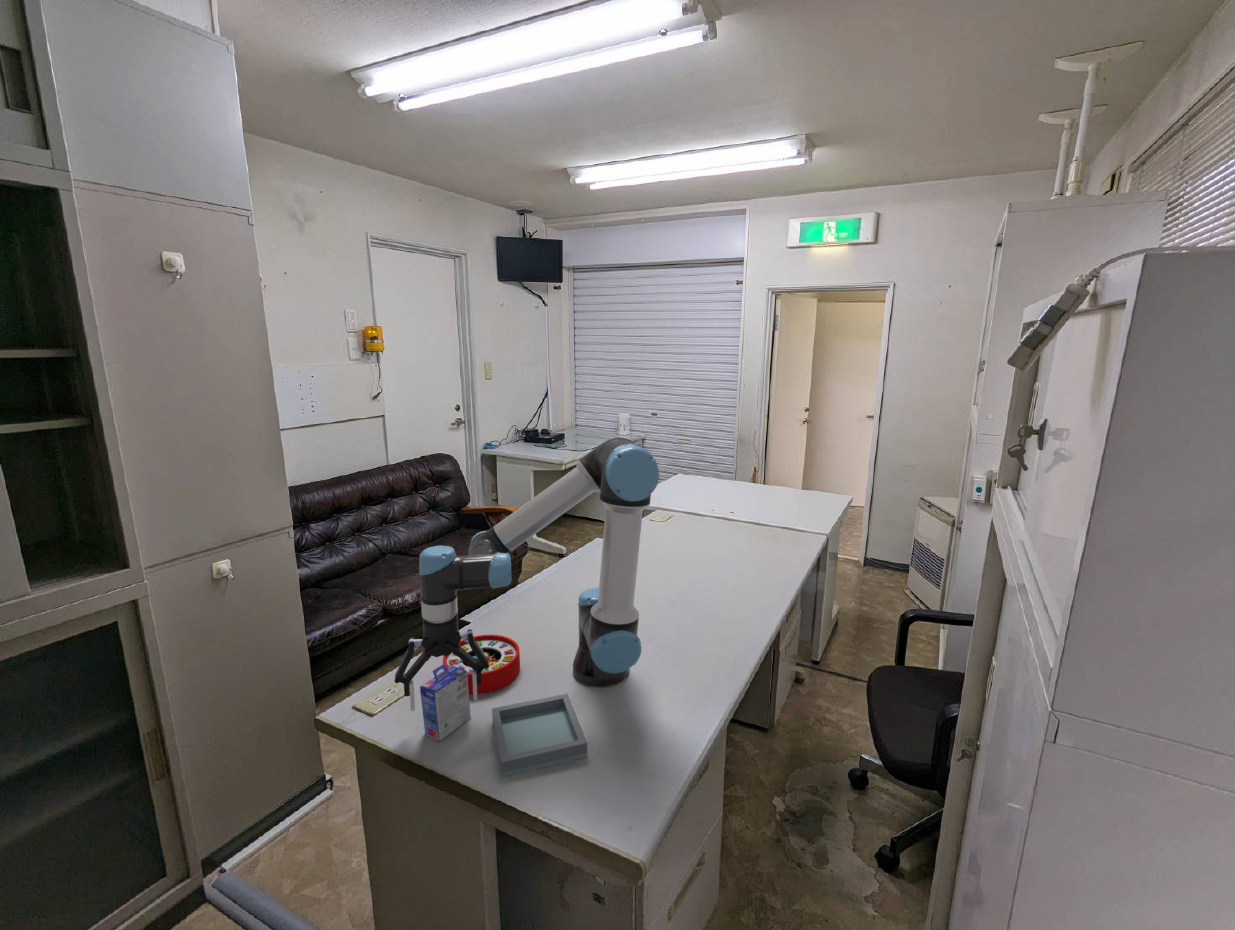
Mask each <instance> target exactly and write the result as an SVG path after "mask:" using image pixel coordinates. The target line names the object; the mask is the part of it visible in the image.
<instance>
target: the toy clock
mask: <svg viewBox="0 0 1235 930" xmlns="http://www.w3.org/2000/svg"><path fill="white" fill-rule="evenodd" d="M473 638H474V639H475V641H476V642H477V644H478V645H479V647H480V648H481V650H482V651H483V653H484V654H485V656H486V658H487V659H488V662H489V668H488V669H483V670H482V672H481V679H482V682H481V684H477V695H484V694H490V693H493V692H497V691H500V690H502V689H503V688H506V687H507V686H509V685H510V684H512V683H513V682H515V680H517V678H518V676H519V675H520V672H521V656H520V652H521V651H520V646H519V645H518V643H517V642H516V641H515V640H514V639H512V638H511V637H508V636H506V635H505V636H504V635H498V634H480V635H473ZM459 645H460V646H461V647H462V648H463V649H464V650H465V651H466V652H467V653H469V654H470V655H471V656H472V657H473V658H474V659H476V660H477V661H478V662H479V663H480V661H479V659H478V658H477V656H476V655H475V653H474V652H473V650H472V649H471V647H470V645H469V642H468V643H466V642H465V641H464V640H463V639H461V641H460V642H459ZM443 664H445V665H446V667H447V668H449V667H450V666H455V667H458V668H460V669H463V670H466V671H467V677H468V691H469V696H470V695H472V696H473V678H472V668H471V667H470V666H469V665H467V664H466V663H465V662H464V661H463V660H461V659H460V658H459V657H458V656H455V655H454V654H453V653H451V654H449V655H448V656H443V655H442V665H443ZM444 670H445V669H442V672H443V671H444Z"/></svg>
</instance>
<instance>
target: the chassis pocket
mask: <svg viewBox="0 0 1235 930" xmlns="http://www.w3.org/2000/svg"><path fill="white" fill-rule="evenodd" d="M491 709H492V710H491V716H492V726H493V733H494V737H495V744H496V751H497V756H498V763H499V770H500V775H501V778H505V777H508V776H512V775H517V774H522V773H526V772H530V771H534V770H535V771H536V770H538V769H544V768H548V767H551V766H555V765H560V764H564V763H568V762H569V763H570V762H572V761H577V760H581V759H587V758H588V741H587V739H586V736H585V733H584V732H583V729H582V726H581V724H580V721H579V719H578V717H577V713H576V711H575V709H574V706H573V704H572V701H571V699H570V696H569V693H563V694H558V695H554V696H548V697H544V698H537V699H533V700H529V701H523V702H517V703H514V704H507V705H502V706H497V707H492V708H491Z"/></svg>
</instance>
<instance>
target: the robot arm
mask: <svg viewBox="0 0 1235 930" xmlns="http://www.w3.org/2000/svg"><path fill="white" fill-rule="evenodd" d="M659 478H660V470H659V466H658V463H657V460H656V459H655V457H654V456H653V454H651V452H650V451H649V450H648V449H647V448H646V447H644V446H642V445H639V444H637V443H635V441H633V440H631V439H628V438H625V437H614V438H610V439H607V440H605V441H604V442H602V443H600V444H599V445H597V446H596V447H595V448H593V449H592V450H591V451H589V452H588V453H587V454H586V455H584V456H583V457H581V458H579V460H577V462H576V466H575V467H574V468H573V469H572V470H570V471H569V472H568V473H565V475H563V476H562V477H561V478H559V479H558V480H557V481H555V482H554V483H552V484H551V485H550V486H548V487H547V488H545V489H543V490H542V491H541V492H540V493H538V494H537V495H535V496H534V497H532V499H529V501H527V502H526V503H525V504H523V505H521V506H520V507H518V509H516V510H515V511H513V512H512V513H511V514H509V515H508V516H506V517H505V518H504V519H502V520H501V521H500V522H498V523H496V524H495V525H493V527H491V528H490V529H487V530H484V531H479V532H477V533H476V534H475V535H474V536H472V538H471V540H470V542H469V546H468V555H457V554H456V551H455V549H454V547H453V546H449V545H435V546H430V547H426V548H425V549H424V550H422V551H421V553H420V554H419V562H418V563H419V564H418V565H419V571H418V574H419V585H420V586H419V587H420V588H419V589H420V598H421V599H420V605H421V618H422V620H421V621H422V638H417V639H416V638H415V637H414V636H411V637H409V639H408V645H407V646H408V647H407V650H406V651H405V653H404V655H403V658H402V660H401V662H400V664H399V666H398V667H397V670H396V672H395V674H394V683H395V684H400V683H401V684H402V685H403V691H404V696H405V697H409V701H410V702H409V703H410V712H412V711H415V710H416V709H415V708H416V707H415V706H416V701H415V700H416V699H415V687H414V686H415V685H414V684H415V683H414V677H415V676H416V675H417V673H419V672H420V670H421V669H422V668H423V666H424V665H425V664H426V663H427V662H428V661H429V660H430V659H431V658H432V657H434V658H439V657H443V656H448V655H449V654H451V653H453V654H454V655H455V656H458V657H459V658H460V659H461V660H463V661H464V662H465V663H466V664H467V665H469V666H470V667H471V668H472V678H473V695H472V696H473V700H474V701H475V700H478V694H477V684H481V682H482V679H481V672H482V670H483V669H488V668H489V662H488V659H487V658H486V656H485V654H484V653H483V651H482V650H481V648H480V647H479V645H478V644H477V642H476V641H475V639H474V638H473V636H474V632H473V630H472V629H467V631H465V632H461V633H460V631H459V615H458V611H459V610H458V609H459V608H458V591H465V590H466V591H468V590H480V589H481V590H482V589H497V588H503V587H508V586H510V584H511V583H512V560H511V555H510V553H511V552H512V551H513V550H515V549H517V548H518V547H519V546H520V545H522V544H523V543H524V542H526V541H528V540H529V539H530V538H531V537H534V535H536V534H537V533H538V532H540V531H541V530H542V529H544V528H546V527H547V526H548V525H550V524H552V522H554V521H555V520H557V519H558V518H559V517H561V516H562V515H563V514H565V513H567V512H568V511H569V510H571V509H572V508H573V507H574V506H577V504H579V503H581V502H582V501H583V500H584V499H586V498H587V497H589V496H590V495H591V494H593V493H600V494H599V501H600V502H601V504H602V505H603V506H604V507H605V512H604V523H603V524H604V526H603V534H602V535H603V536H602V537H603V538H602V547H601V548H602V549H601V559H600V560H601V561H600V570H599V571H600V573H599V585H598V587H593V588H588V589H586V590H584V591H582V592H581V593H580V594H579V595H578V602H577V606H578V647H577V651H576V653H575V656H574V658H573V663H572V674H573V677H574V678H575V679H576V681H578V682H579V683H581V684H582V685H585V686H588V687H593V688H594V687H596V688H605V687H611V686H615V685H617V684H619V683H621V682H623V681H625V679H627V677H628V675H629V672H630V670H629V669H631V668H632V667H633V666H635V665H636V664H637V662H638V661H639V660H640V657H641V655H642V644H641V639H640V637H639V636H638V629H639V620H640V618H639V617H640V612H639V610H638V609H637V608H636V607H635V606H634V605H635V604H634V603H635V595H636V594H635V593H636V582H637V573H638V562H639V552H640V544H641V543H640V542H641V532H642V523H643V522H642V521H643V511H644V510H645V509H646V508H648V507H649V506H651V496H652V493H653V492H655V489H656V488H657V486H658V483H659ZM461 640H464V641H465V642H466V643H468V642H469V645H470V647H471V649H472V650H473V652H474V653H475V655H476V656H477V658H478V659H479V661H480V663H479V662H478V661H477V660H476V659H474V658H473V657H472V656H471V655H470V654H469V653H467V652H466V651H465V650H464V649H463V648H462V647H461V646H460V645H459V642H460V641H461ZM420 646H421V647H422V648H423V649H424V650H423V651H422V652H421V654H420V655H419V656H418V658H417V659H416V660H415V661H414V662H413V664H412V665H411V667H409V669H408V670H407V668H408V666H409V664H410V662H411V659H412V658H413V655H414V653H415V651H416V650H418V649H419V647H420ZM406 670H407V672H406ZM405 672H406V673H405Z"/></svg>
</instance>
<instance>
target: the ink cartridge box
mask: <svg viewBox="0 0 1235 930" xmlns="http://www.w3.org/2000/svg"><path fill="white" fill-rule="evenodd" d="M443 669H445V670H444V671H443ZM441 670H442V672H440V671H441ZM438 672H440V673H438ZM437 673H438V674H437ZM432 674H433V677H432V678H431V679H429V680H428V681H426V682H425V683H423V684H421V685H420V686H419V689H420V691H419V693H420V701H421V709H422V710H421V711H422V715H423V716H422V718H423V726H424V727H423V728H424V734H425V735H426V736H428V737H430V738H431V739H434V740H436V741H437V742H441V741H442V740H444V739H445V738H446V737H447V736H448V735H450V734H451V733H453V732H454V731H455V730H456V729H457V728H459V727H460V726H461V725H462V724H464V723H465V722H466V721H468V720H469V719H470V718H471V716H472V715H471V709H470V708H471V706H470V705H471V704H470V695H469V691H468V677H467V671H466V670H463V669H460V668H458V667H455V666H450V667H449V668H447V667H446V665H445V664H443V663H442V665H440V666H438V667H436V668H434V669H433V670H432Z"/></svg>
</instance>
